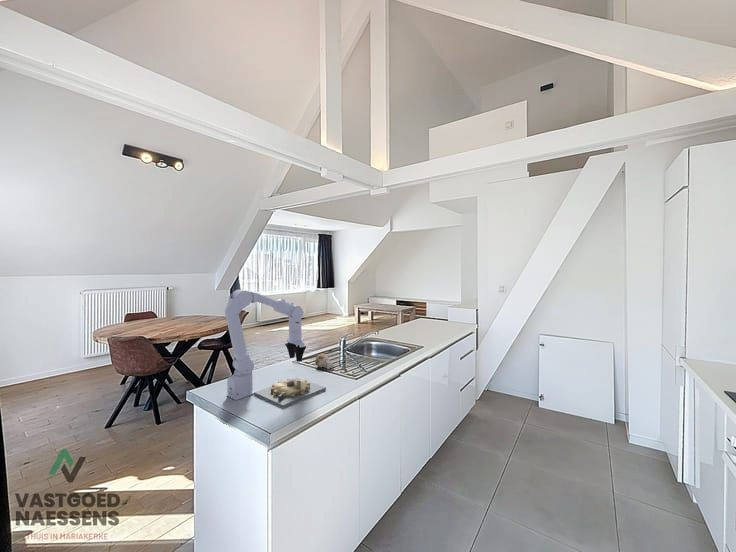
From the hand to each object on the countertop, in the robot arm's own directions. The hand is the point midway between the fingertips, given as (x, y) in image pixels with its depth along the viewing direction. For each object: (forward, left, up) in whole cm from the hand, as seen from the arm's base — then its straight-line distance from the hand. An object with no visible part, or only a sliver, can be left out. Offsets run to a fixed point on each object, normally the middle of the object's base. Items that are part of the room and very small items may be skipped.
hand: (295, 359), depth 145 cm
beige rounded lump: (+22, +3, -10) cm, 25 cm away
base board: (-10, -10, -10) cm, 17 cm away
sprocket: (-10, -10, -9) cm, 16 cm away
